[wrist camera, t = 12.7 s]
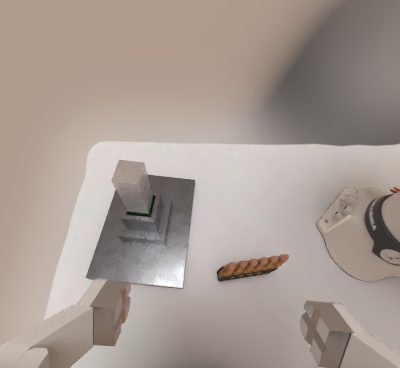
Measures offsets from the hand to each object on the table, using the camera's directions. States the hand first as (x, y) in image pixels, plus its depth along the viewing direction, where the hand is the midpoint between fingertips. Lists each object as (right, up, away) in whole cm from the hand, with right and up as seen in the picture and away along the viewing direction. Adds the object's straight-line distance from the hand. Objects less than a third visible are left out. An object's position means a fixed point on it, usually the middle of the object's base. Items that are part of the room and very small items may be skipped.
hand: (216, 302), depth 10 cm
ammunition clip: (+8, -13, +34) cm, 37 cm away
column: (-12, 0, +32) cm, 34 cm away
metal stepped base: (-12, -4, +37) cm, 39 cm away
